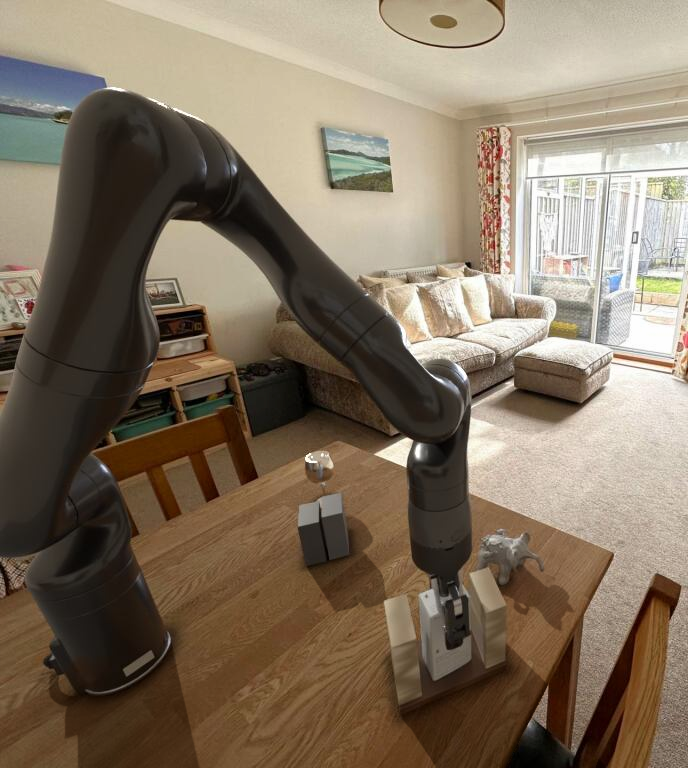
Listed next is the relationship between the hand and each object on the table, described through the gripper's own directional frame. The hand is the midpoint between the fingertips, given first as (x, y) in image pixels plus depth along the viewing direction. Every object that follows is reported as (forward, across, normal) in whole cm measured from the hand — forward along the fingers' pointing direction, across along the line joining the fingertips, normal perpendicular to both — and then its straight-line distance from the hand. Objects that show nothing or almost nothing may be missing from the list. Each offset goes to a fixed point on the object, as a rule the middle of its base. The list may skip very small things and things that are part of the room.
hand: (445, 618), depth 55 cm
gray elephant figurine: (+10, -12, +15) cm, 21 cm away
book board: (+9, 0, 0) cm, 9 cm away
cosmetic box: (+8, 0, 0) cm, 8 cm away
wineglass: (+10, -46, -16) cm, 50 cm away
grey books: (+9, -30, -16) cm, 36 cm away
